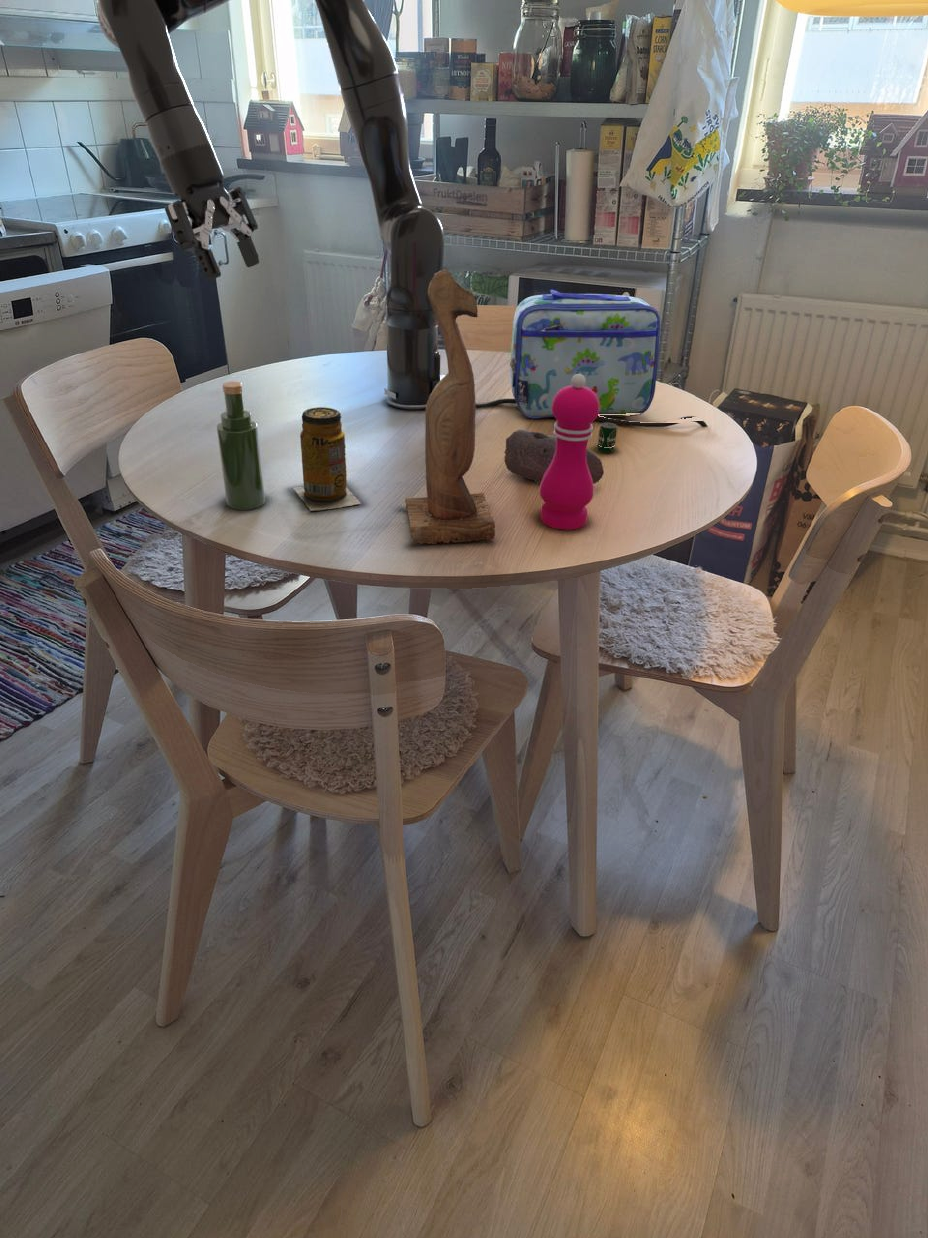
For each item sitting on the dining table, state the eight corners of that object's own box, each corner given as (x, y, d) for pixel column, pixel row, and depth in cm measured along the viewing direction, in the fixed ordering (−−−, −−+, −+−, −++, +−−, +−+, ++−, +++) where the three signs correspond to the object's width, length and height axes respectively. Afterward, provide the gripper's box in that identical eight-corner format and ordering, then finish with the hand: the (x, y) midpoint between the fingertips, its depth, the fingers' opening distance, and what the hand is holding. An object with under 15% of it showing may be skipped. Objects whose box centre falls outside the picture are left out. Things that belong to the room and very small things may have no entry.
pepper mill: (533, 509, 115) (545, 365, 105) (583, 508, 116) (601, 366, 105) (541, 532, 109) (555, 382, 99) (594, 531, 110) (614, 382, 99)
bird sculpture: (500, 541, 107) (517, 279, 89) (411, 547, 104) (411, 279, 87) (481, 505, 116) (493, 261, 99) (399, 510, 113) (396, 261, 96)
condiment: (341, 482, 121) (337, 402, 115) (361, 504, 115) (358, 421, 108) (293, 489, 118) (286, 407, 112) (310, 512, 112) (304, 427, 105)
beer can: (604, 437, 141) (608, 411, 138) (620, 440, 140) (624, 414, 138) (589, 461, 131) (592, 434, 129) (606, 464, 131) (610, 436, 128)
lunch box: (508, 420, 147) (516, 297, 135) (504, 401, 156) (511, 284, 144) (652, 424, 148) (672, 302, 136) (640, 405, 157) (657, 289, 145)
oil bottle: (264, 493, 117) (252, 377, 108) (265, 508, 113) (253, 389, 104) (226, 495, 116) (211, 378, 107) (226, 511, 111) (210, 391, 103)
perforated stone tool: (605, 484, 124) (611, 440, 120) (596, 497, 119) (602, 452, 116) (512, 466, 128) (515, 423, 125) (500, 478, 124) (503, 434, 121)
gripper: (165, 147, 106) (219, 276, 113) (237, 136, 116) (283, 254, 123) (129, 166, 110) (184, 289, 117) (202, 153, 121) (248, 267, 127)
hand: (235, 271), depth 120 cm, fingers open, 8 cm apart
